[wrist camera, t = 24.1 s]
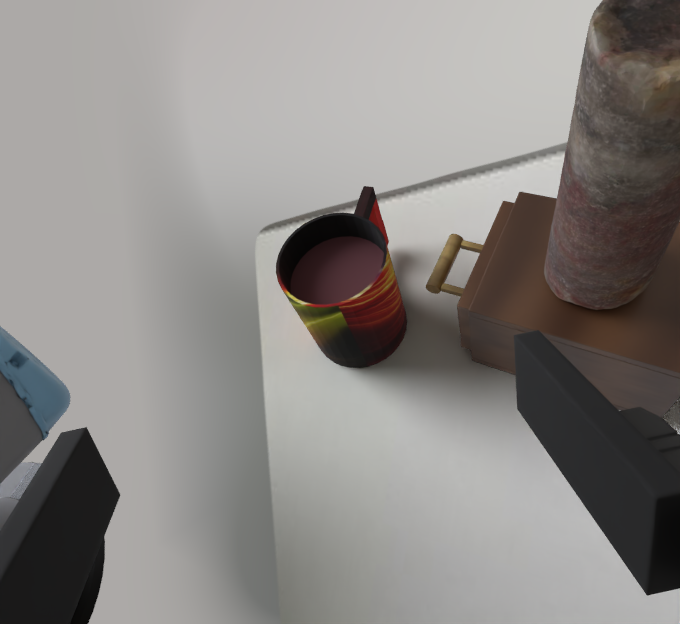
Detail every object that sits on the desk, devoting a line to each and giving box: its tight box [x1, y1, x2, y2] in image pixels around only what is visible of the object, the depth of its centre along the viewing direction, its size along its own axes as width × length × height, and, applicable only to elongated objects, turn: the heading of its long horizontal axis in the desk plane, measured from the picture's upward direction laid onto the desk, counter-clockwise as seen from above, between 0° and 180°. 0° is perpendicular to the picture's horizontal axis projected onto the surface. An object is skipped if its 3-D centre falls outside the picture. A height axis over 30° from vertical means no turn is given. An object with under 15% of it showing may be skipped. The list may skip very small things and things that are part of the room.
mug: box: [276, 186, 407, 368], centre depth 49 cm, size 10×14×12 cm
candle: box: [544, 0, 680, 310], centre depth 31 cm, size 8×7×20 cm
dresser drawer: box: [426, 201, 514, 350], centre depth 45 cm, size 19×11×8 cm, turn 63°
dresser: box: [469, 192, 680, 418], centre depth 44 cm, size 16×13×10 cm
